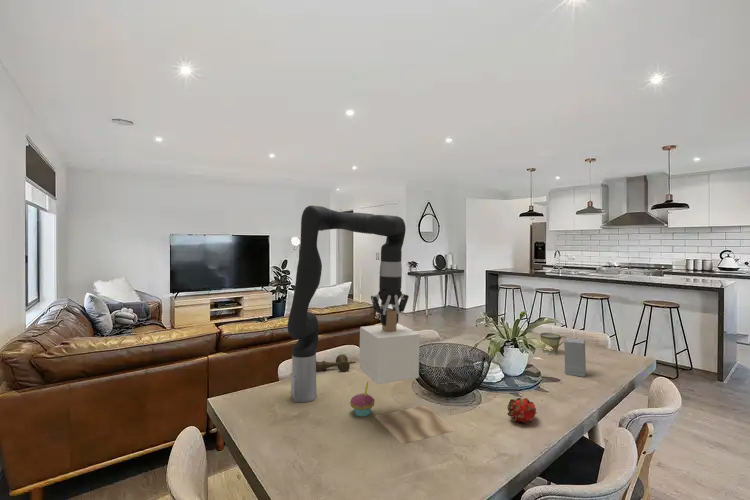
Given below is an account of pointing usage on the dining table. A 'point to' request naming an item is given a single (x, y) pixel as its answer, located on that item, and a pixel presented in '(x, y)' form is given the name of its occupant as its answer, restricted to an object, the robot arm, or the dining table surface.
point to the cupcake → (362, 403)
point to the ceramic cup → (551, 341)
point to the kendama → (335, 364)
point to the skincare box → (575, 357)
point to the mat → (414, 424)
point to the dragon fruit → (521, 410)
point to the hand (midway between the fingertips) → (389, 324)
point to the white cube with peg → (389, 351)
